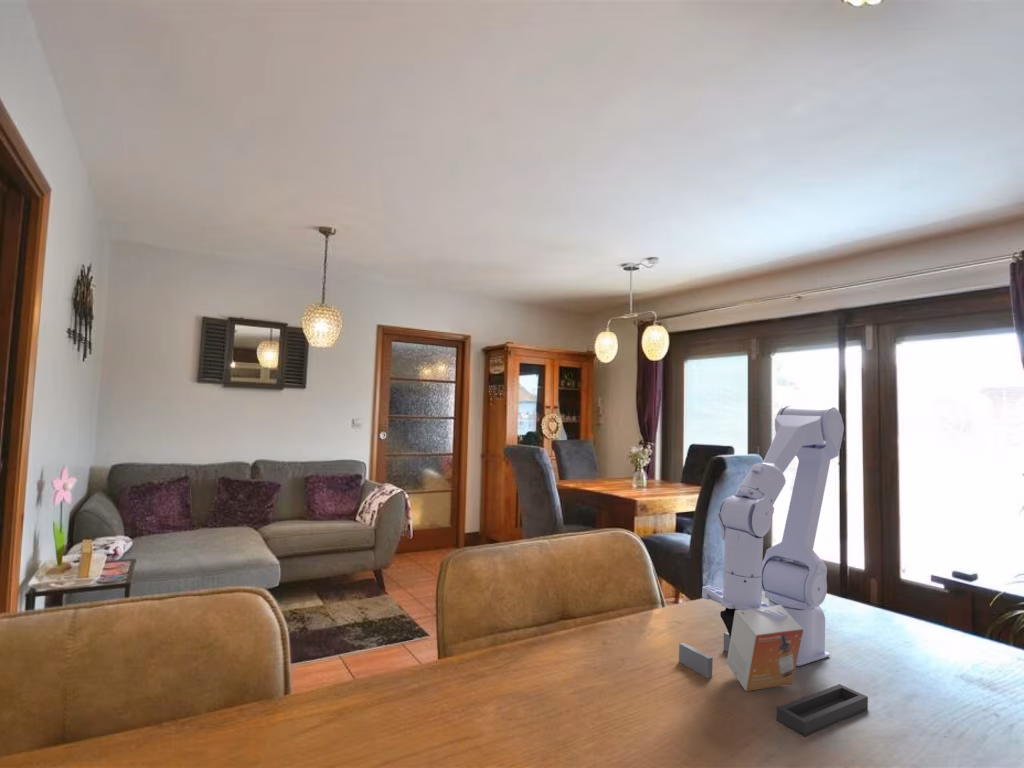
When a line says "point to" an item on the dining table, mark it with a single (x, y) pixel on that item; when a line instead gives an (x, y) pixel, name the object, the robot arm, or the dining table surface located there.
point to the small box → (763, 648)
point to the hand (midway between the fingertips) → (740, 657)
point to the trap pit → (821, 709)
